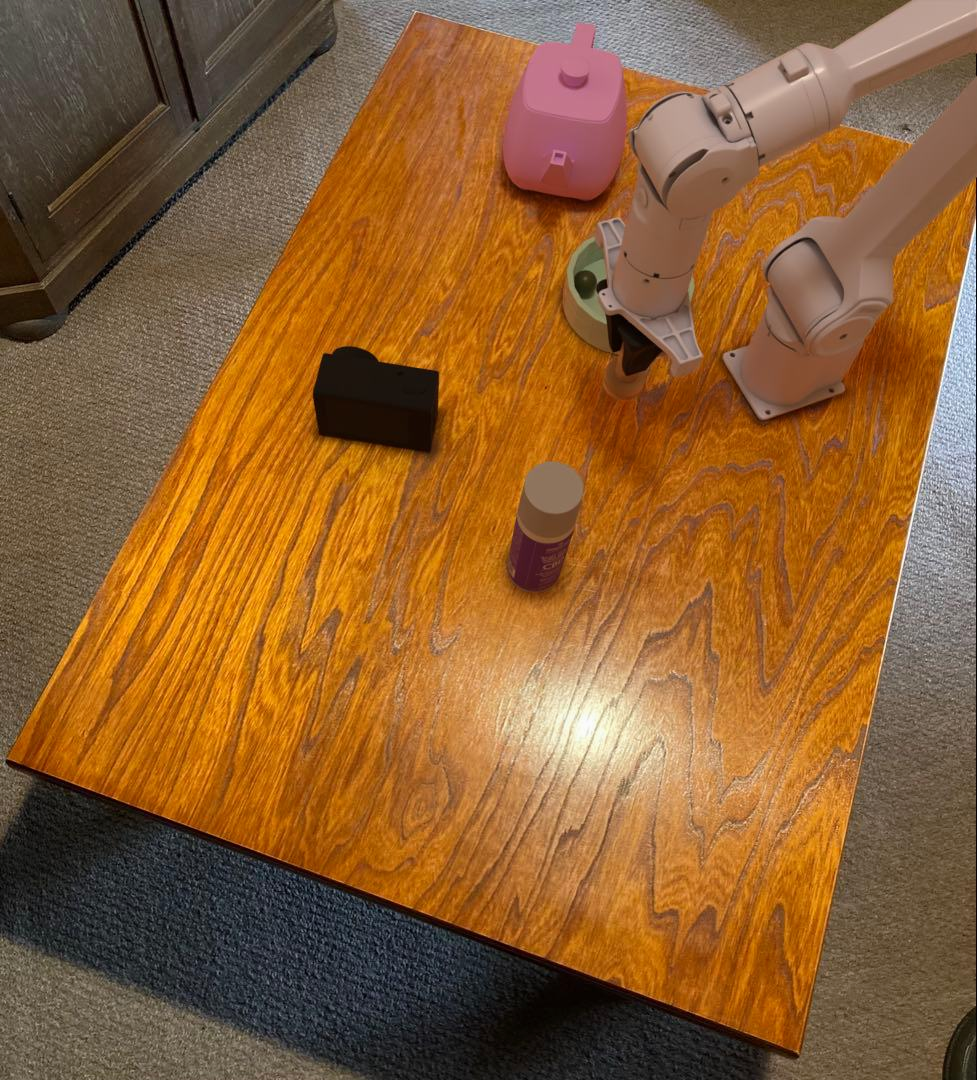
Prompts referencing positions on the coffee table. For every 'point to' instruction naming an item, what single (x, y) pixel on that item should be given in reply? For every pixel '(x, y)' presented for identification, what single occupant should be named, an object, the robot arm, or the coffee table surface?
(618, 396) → the brown piece
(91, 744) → the coffee table surface
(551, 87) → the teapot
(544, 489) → the container
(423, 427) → the digital camera
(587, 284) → the olive
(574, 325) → the bowl
